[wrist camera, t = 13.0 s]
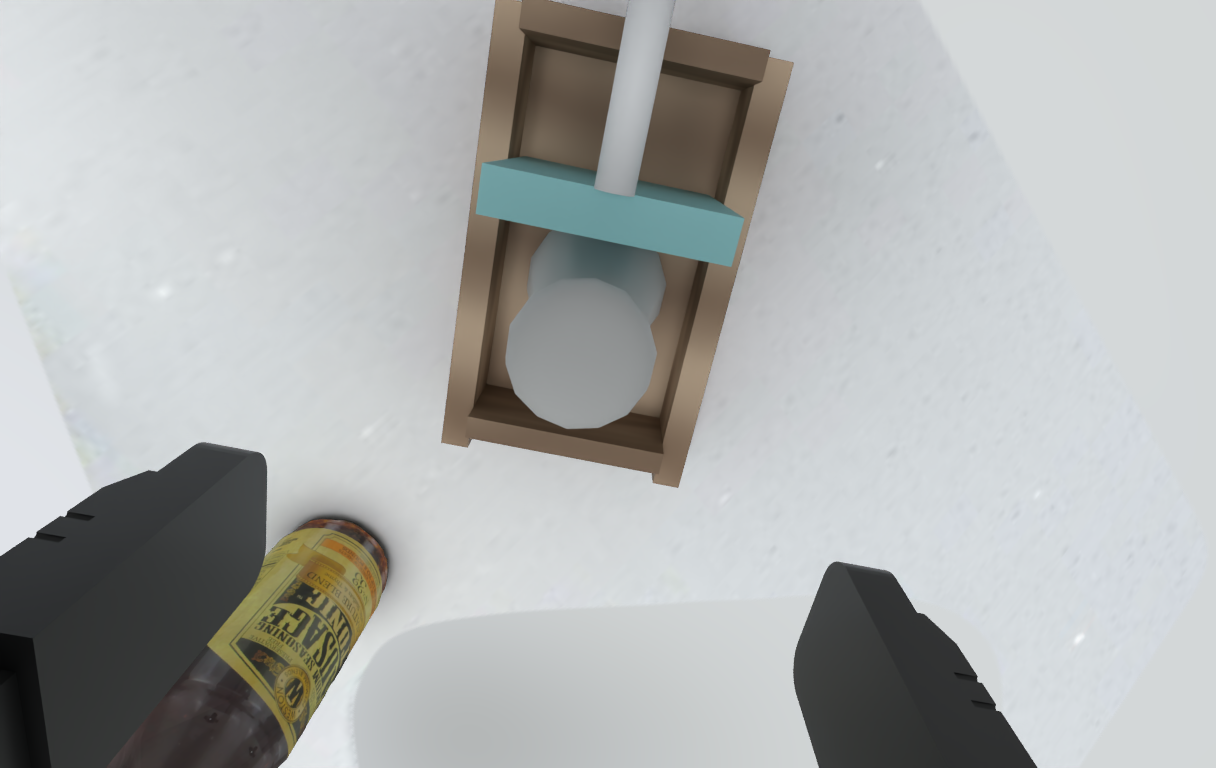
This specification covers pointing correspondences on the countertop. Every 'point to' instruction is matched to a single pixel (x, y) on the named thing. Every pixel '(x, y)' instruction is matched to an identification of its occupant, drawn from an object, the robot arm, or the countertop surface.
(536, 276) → the salt shaker
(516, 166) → the pusher paddle
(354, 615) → the sauce bottle
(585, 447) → the wooden tray
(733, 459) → the countertop surface
